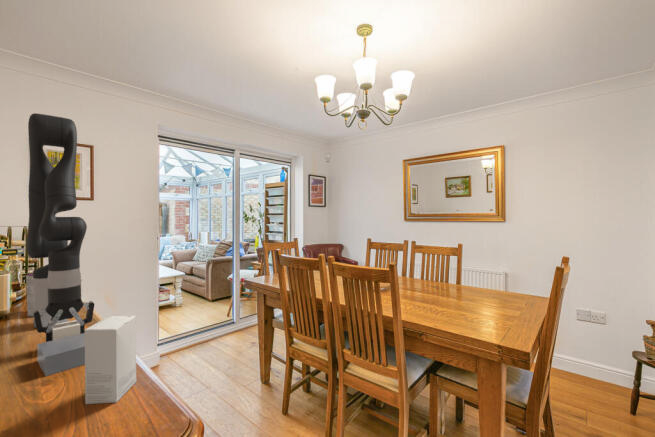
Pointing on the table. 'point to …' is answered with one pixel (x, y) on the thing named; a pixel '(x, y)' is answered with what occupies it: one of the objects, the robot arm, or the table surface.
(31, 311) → the candy bar box
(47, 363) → the slate block
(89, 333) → the skincare box
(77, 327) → the cream block
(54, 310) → the robot arm
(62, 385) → the table surface
